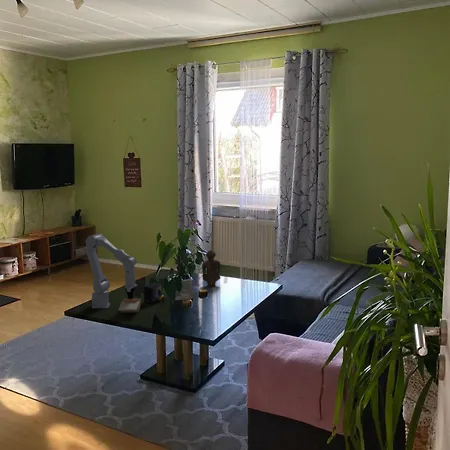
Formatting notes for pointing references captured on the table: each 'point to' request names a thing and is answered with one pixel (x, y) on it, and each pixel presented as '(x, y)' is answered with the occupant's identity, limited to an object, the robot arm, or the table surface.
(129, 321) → the table surface
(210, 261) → the clay figurine
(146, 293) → the small box
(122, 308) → the lid
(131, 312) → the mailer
